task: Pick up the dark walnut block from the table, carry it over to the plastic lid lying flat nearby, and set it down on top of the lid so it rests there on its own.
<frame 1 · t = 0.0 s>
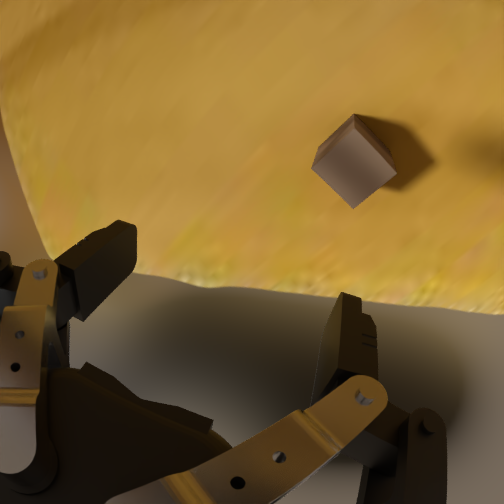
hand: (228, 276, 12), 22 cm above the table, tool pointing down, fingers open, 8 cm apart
walnut block: (354, 148, 29), on the table
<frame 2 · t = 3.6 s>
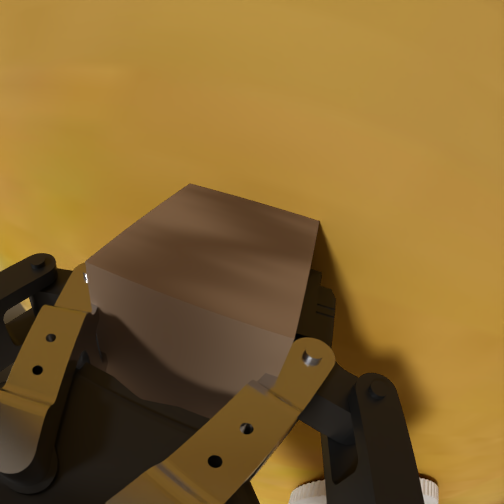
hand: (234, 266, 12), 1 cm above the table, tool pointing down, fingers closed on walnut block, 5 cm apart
walnut block: (240, 258, 13), on the table, touching gripper
plastic lid: (365, 489, 22), on the table
when the fingers open (5 cm above the table, at t = 9.6 s): walnut block drops 2 cm, resting on plastic lid.
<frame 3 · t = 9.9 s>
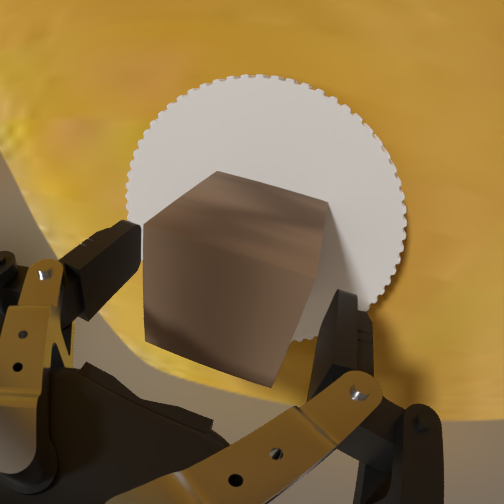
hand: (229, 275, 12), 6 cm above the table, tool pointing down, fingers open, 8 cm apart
walnut block: (259, 235, 15), point 2 cm above the table, touching plastic lid
plastic lid: (265, 209, 17), on the table, touching walnut block
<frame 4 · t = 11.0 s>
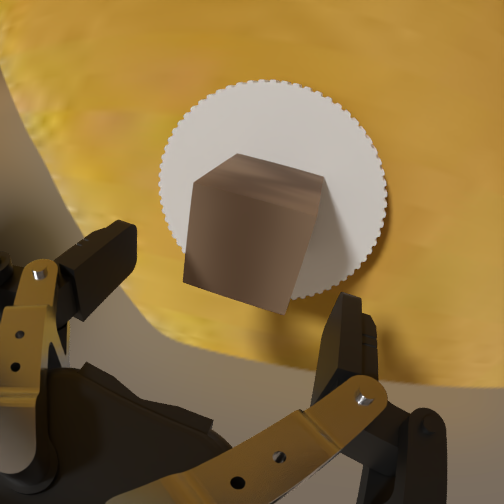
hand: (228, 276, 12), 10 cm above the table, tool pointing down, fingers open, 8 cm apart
walnut block: (270, 204, 19), point 2 cm above the table, touching plastic lid
plastic lid: (274, 187, 21), on the table, touching walnut block
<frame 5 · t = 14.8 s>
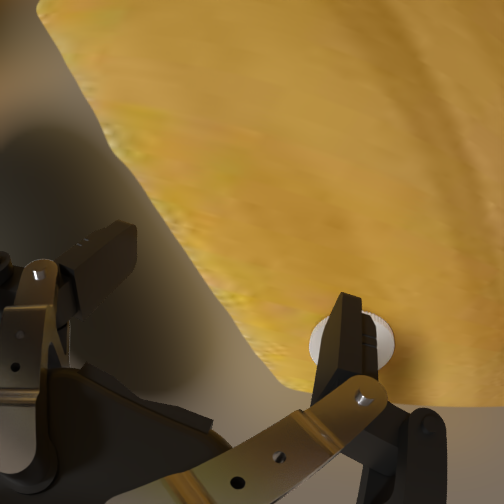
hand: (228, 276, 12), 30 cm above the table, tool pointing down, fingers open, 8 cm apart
plastic lid: (352, 338, 50), on the table, touching walnut block
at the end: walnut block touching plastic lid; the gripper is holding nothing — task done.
